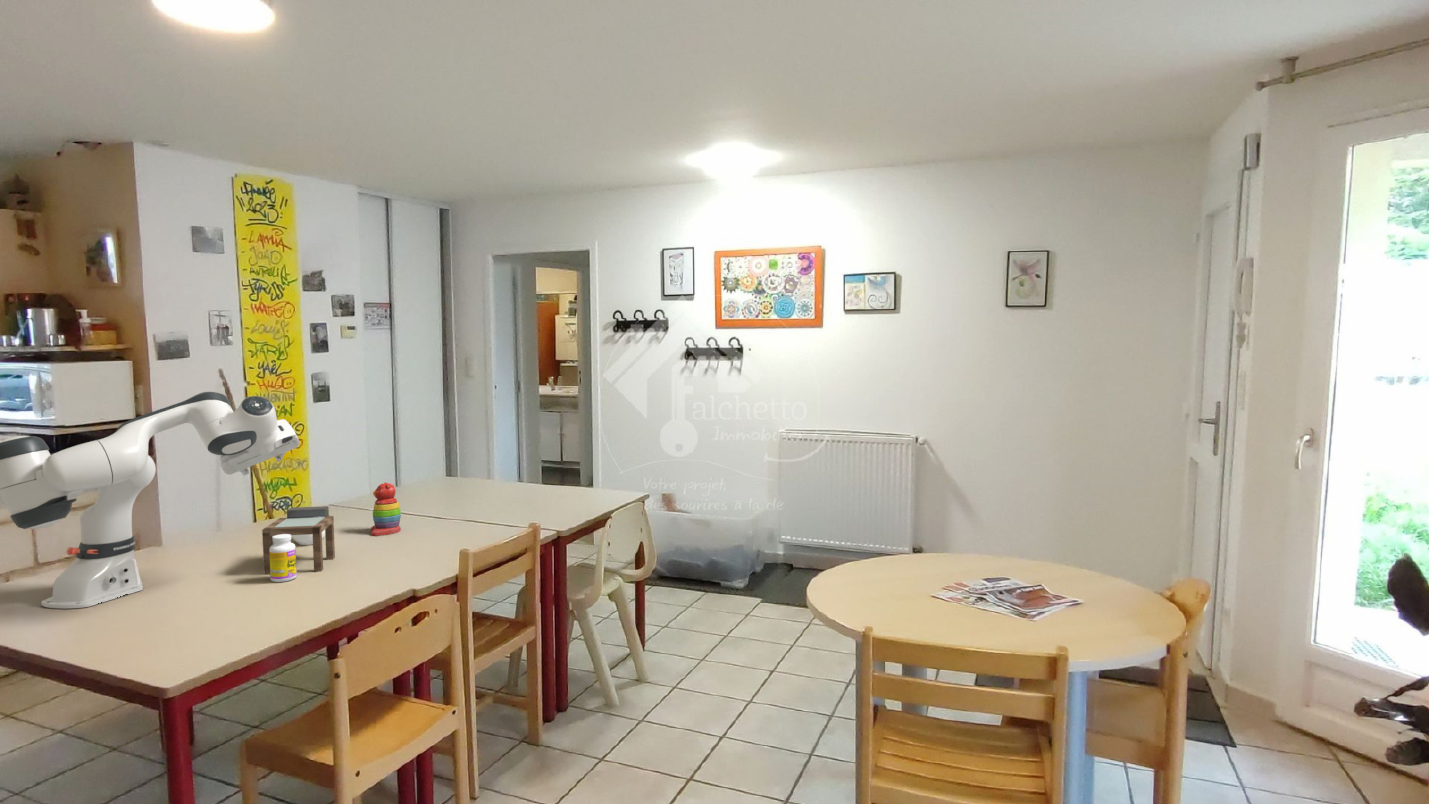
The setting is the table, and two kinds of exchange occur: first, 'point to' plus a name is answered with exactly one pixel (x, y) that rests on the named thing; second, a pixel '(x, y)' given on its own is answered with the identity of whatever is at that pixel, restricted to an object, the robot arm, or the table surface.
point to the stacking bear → (385, 511)
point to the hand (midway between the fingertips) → (262, 465)
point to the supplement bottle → (282, 559)
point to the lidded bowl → (306, 538)
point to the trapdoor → (304, 516)
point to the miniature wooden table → (316, 530)
